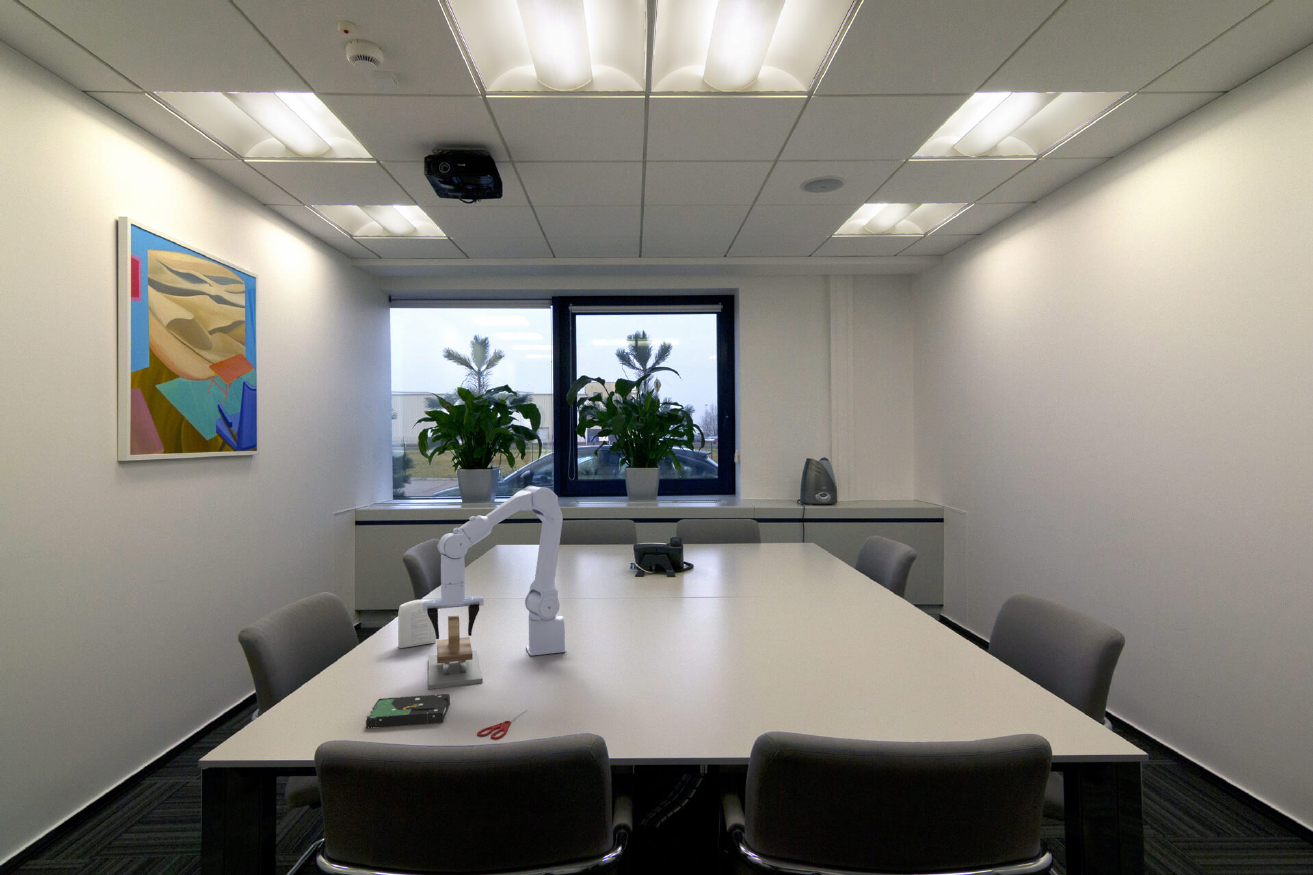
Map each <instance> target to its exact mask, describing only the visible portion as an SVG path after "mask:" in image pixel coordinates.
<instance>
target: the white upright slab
mask: <svg viewBox="0 0 1313 875" xmlns="http://www.w3.org/2000/svg"><path fill="white" fill-rule="evenodd" d="M431 600H432V599H431ZM431 600H430V599H415V600H410V601H407V602H405V603H402V604H400V605H399V607H398V608H399V609H398V615H397V617H398V618H397V619H398V620H397V622H398V624H397V626H398V627H397V634H398V637H397V644H398V645H397V646H398V648H400V649H405V648H410V647H415V646H423V645H428V644H429V645H430V644H435V643H437V639H436V634H435V630H434V627H433V624H432V622H431V620H430V618H429V616H428V614H427V611H423V601H431Z"/></svg>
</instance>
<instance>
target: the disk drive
mask: <svg viewBox="0 0 1313 875" xmlns="http://www.w3.org/2000/svg"><path fill="white" fill-rule="evenodd" d="M450 706H451V695H450V693H441V694H429V695H426V694H425V695H415V696H414V695H413V696H401V697H397V696H396V697H386V698H385V697H384V698H378V699H377V700H376V703H375V704H374V705H373V706H372V709H371V711H370V712H369V714H368V715H366V720H365V729H374V728H373V727H381V728H392V727H402V726H403V727H404V726H405V727H406V726H407V727H408V726H418V725H420V726H421V725H435V724H443V722H444V719H445V718H446V715H447V712H448V710H449V708H450ZM368 727H369V728H368ZM371 727H372V728H371Z"/></svg>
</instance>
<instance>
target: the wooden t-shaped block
mask: <svg viewBox="0 0 1313 875" xmlns="http://www.w3.org/2000/svg"><path fill="white" fill-rule="evenodd" d="M447 623H448V624H447V626H448V628H447V629H448V630H447V633H448V634H447V635H448V636H447V637H448V638H447V639H436V655H437V664H438V663H447V662H456V661H465V660H473V655H472V651H473V649H472V644H471V638H470V636H466V637H460V633H461V632H460V615H458V614H457V615H449V616H447Z"/></svg>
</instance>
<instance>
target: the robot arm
mask: <svg viewBox="0 0 1313 875" xmlns="http://www.w3.org/2000/svg"><path fill="white" fill-rule="evenodd" d="M558 501H559V496H558V495H557V494H556V493H555V492H554V491H553V490H552V489H550V488H548V487H542V486H541V487H540V486H534V485H528V486H526V487H525V488H523V489H521V490H519V491H516V493H515V494H513V495H512V496H511V497H509V498H508V499H507V500H505V501H504V502H503V503H501V504H500V505H499V506H497V507H496V508H494V509H493V510H492V511H490V512H489V513H487V514H486V515H485V516H483V515H481V514H480V515H479V514H478V515H477V516H474V515H471V516H470V517H469V518H468V519H469V521H466V522H465V523H464V524H461V526H460V527H455V528H453V530H452V532H451V533H450V532H449V533H445V534H444V535H442V536H441V537H440V540H439V541H438V544H437V545H436V547H437V550H438V552H439V554H440V588H441V589H440V592H441V593H440V594H441V596H440V597H441V598H439V599H431V601H423V611H427V614H428V616H429V618H430V620H431V622H432V624H433V627H434V630H435V634H436V640H440V631H439V609H441V610H442V609H451V608H452V609H453V608H463V607H467V608H468V610H467V612H468V623H467V624H468V626H467V634H468V635H467V637H471V636H472V635H473V634H472V633H473V627H474V624H475V621H476V618H477V617H478V614H479V612H480V607H481V606H483V607H484V605H485V603H484V601H485V600H484V596H481V595H479V596H466V570H465V569H466V568H465V567H466V565H465V564H466V563H465V556H466V555H467V553H468V550H469V548H471V547H473V546H475V544H477V543H479V542H480V541H482V540H483V539H485V538H486V537H488V536H489V535H490V534H491V533H492V530H493V527H494V526H496V525H497V524H499V523H500V522H502V521H504V520H506V519H508V518H509V517H510V516H512V515H514V514H515V513H517V512H519V511H523V512H525V511H531V512H532V513H534V515H535V516H536V517H538V519H539V520H540V521H541V529H540V537H539V544H538V552H537V553H538V554H537V561H536V567H535V575H534V580H533V581H532V583H531V584H530V586H529V591H528V593H527V594H526V596H525V599H524V605H525V609H526V610H527V611H528V612H529V613H528V644H527V645H525V649H526V651H527V653H528V655H529V656H542V655H548V654H551V655H552V654H556V653H557V654H558V653H560V654H561V653H566V639H565V638H566V634H565V633H566V630H565V628H566V627H565V620H564V616H563V615H557V614H558V613H559V611H560V605H561V604H560V601H559V596H558V595H559V590H558V587H557V585H556V583H555V579H556V574H557V566H558V558H559V550H560V544H561V536H562V535H561V534H562V527H563V522H564V521H563V520H564V519H563V518H564V517H563V513H562V509H561V508H560V504H559V502H558Z"/></svg>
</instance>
